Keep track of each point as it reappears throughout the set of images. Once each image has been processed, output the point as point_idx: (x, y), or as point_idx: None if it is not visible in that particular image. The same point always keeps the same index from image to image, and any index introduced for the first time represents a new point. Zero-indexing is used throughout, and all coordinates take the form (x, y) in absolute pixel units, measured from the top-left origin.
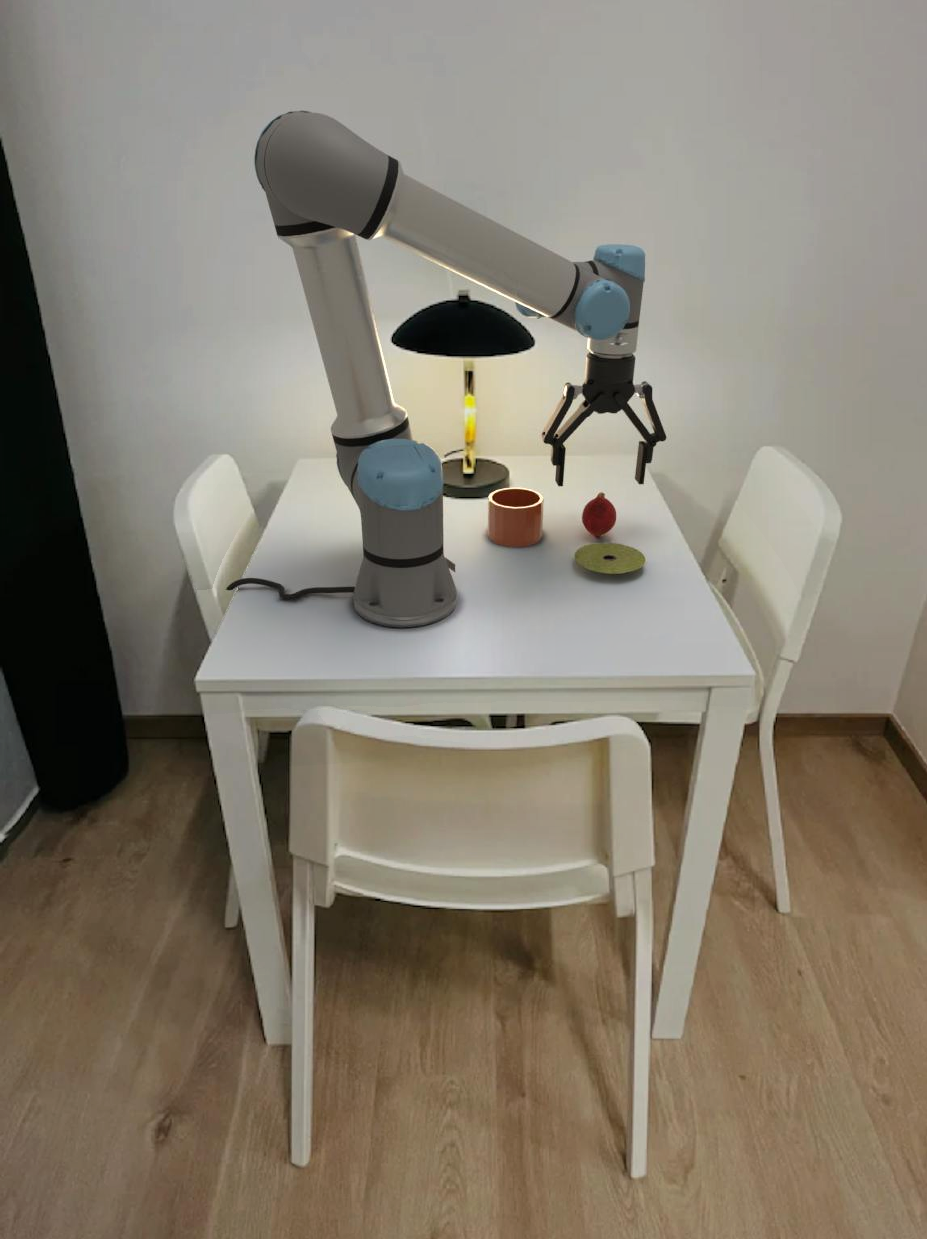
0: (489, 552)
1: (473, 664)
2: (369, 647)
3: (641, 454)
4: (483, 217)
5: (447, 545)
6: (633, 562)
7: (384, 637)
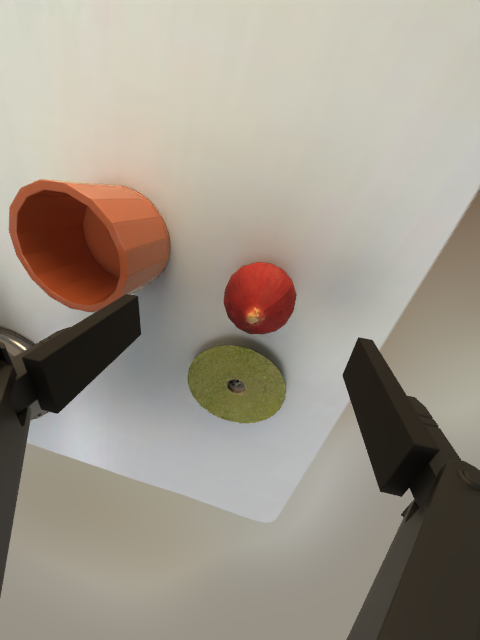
0: None
1: (87, 455)
2: None
3: (373, 441)
4: None
5: None
6: (260, 408)
7: None
